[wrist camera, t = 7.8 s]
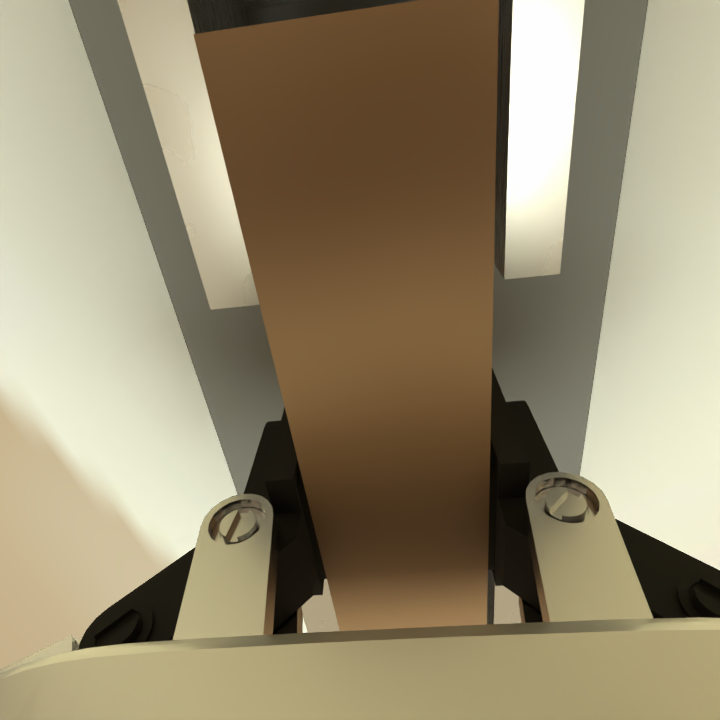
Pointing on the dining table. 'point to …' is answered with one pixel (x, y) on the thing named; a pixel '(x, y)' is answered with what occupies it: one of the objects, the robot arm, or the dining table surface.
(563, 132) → the endcap
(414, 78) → the slat
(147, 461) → the dining table surface
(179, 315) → the mat
